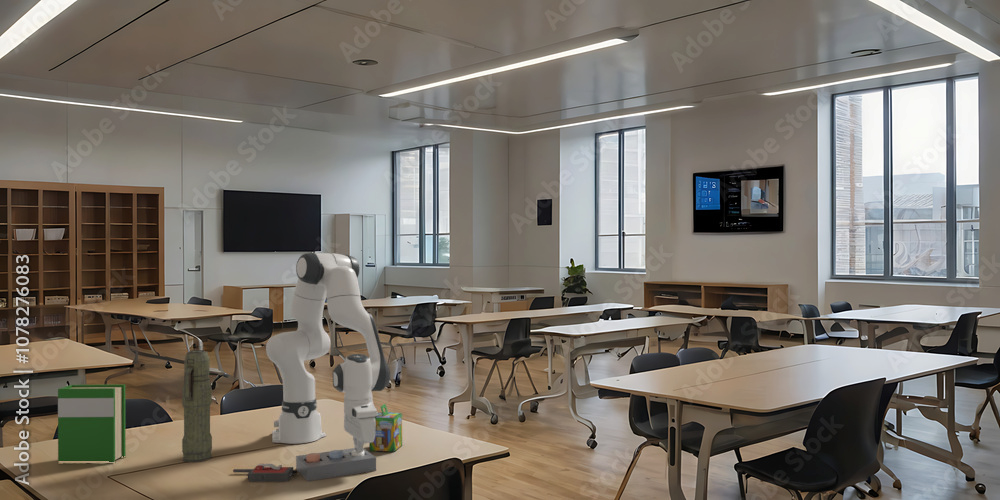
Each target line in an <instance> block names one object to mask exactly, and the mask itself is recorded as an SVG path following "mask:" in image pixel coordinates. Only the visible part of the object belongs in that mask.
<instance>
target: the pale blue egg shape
mask: <svg viewBox="0 0 1000 500" xmlns="http://www.w3.org/2000/svg"><path fill="white" fill-rule="evenodd" d="M341 450H342V449H334V450H333V449H332V450H330V452H329V451H328V452H329V459H330V460H333V459H340V458H343V451H341Z"/></svg>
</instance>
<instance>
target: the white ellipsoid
mask: <svg viewBox="0 0 1000 500" xmlns="http://www.w3.org/2000/svg"><path fill="white" fill-rule="evenodd" d="M351 455H352V456H353V457H354V456H361V455H364V450H363V452H360V453H358V452H357V451H355V450H354V451H352V452H351Z"/></svg>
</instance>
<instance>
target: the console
mask: <svg viewBox="0 0 1000 500" xmlns="http://www.w3.org/2000/svg"><path fill="white" fill-rule="evenodd" d="M340 450H341V451H343V458H340V459H333V460H330V459H329V452H330V451H331V450H330V451H323V452H317V453H318V454H320V461H319V462H312V463H307V462H306V455H307V454H300V455H296V456H295V466H296V467H295V470H297V472H298V473H299V474H300V475H301V476H302V478H304V479H305V481H306V482H310V481H311V482H312V481H317V480H323V479H330V478H337V477H343V476H350V475H356V474H362V473H369V472H376V471H377V457H376V456H375V455H373V454H372V453H371V452H370V451H369V450H367V449H366V448H364V447H363V450H364V455H361V456H354V457H353V456H352V455H351V452H352V451H354V450H355V447H352V448H344V449H340Z"/></svg>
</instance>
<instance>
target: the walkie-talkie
mask: <svg viewBox="0 0 1000 500" xmlns="http://www.w3.org/2000/svg"><path fill="white" fill-rule="evenodd" d="M232 472H233V473H248V474H247V480H249V482H250V483H265V482H267V483H271V482H272V483H274V482H275V483H277V482H281V483H282V482H283V483H286V482H288V481H290V480H291V477H292V476H293V477H294V475H297V474H298V470H297V469H294V467H293V466H283V465H282V464H278V466H276V465H275V464H273V463H259V464H257V465H256V466H255V467H254V468H233V470H232ZM293 477H292V478H293Z"/></svg>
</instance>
